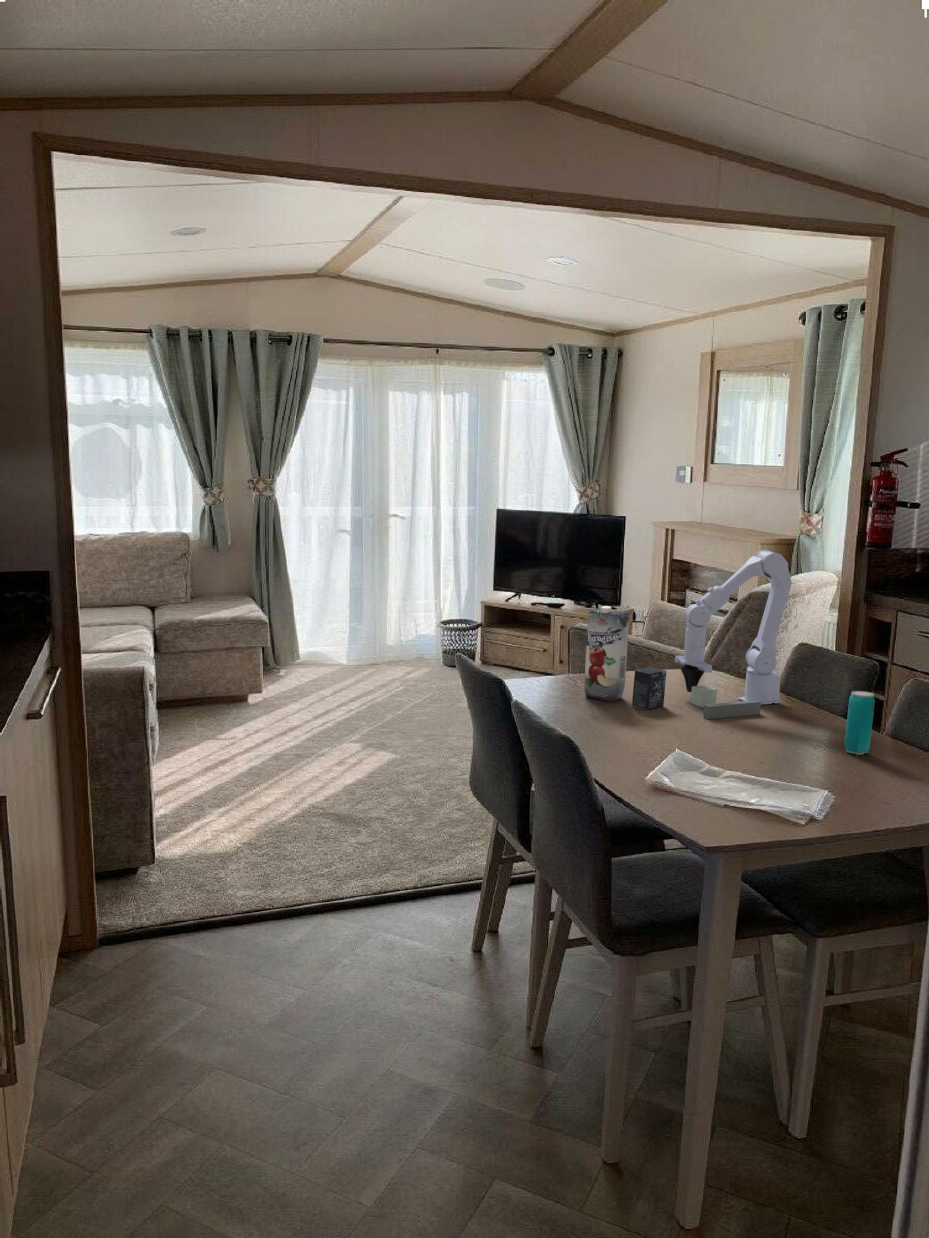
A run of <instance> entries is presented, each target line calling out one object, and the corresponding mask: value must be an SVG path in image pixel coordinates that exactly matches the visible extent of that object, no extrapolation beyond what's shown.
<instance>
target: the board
mask: <svg viewBox="0 0 929 1238" xmlns="http://www.w3.org/2000/svg"><path fill="white" fill-rule="evenodd" d="M761 706H762V705H761V702H760V701H757V700H752V701H742V700H740V701H733V702H732V701H731V702H722V703H716V704H708V705H704V707H703V716H702V717H703V718H704V719H707V720H713V719H725V718H733V717H744V716H753V715H760V714H761V708H762V707H761Z"/></svg>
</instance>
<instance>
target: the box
mask: <svg viewBox="0 0 929 1238" xmlns="http://www.w3.org/2000/svg"><path fill="white" fill-rule="evenodd" d="M666 679H667V670H665V669H662V668H657V667H652V666H649V667H645V668H640V669H634V677H633V687H632V688H633V689H632V701H631V706H632V707H634V708H637V709H641V710H646V711H649V710H652V709H656V708H660V707H661V708H662V707H664V703H665V692H666V691H665V690H666Z"/></svg>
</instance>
